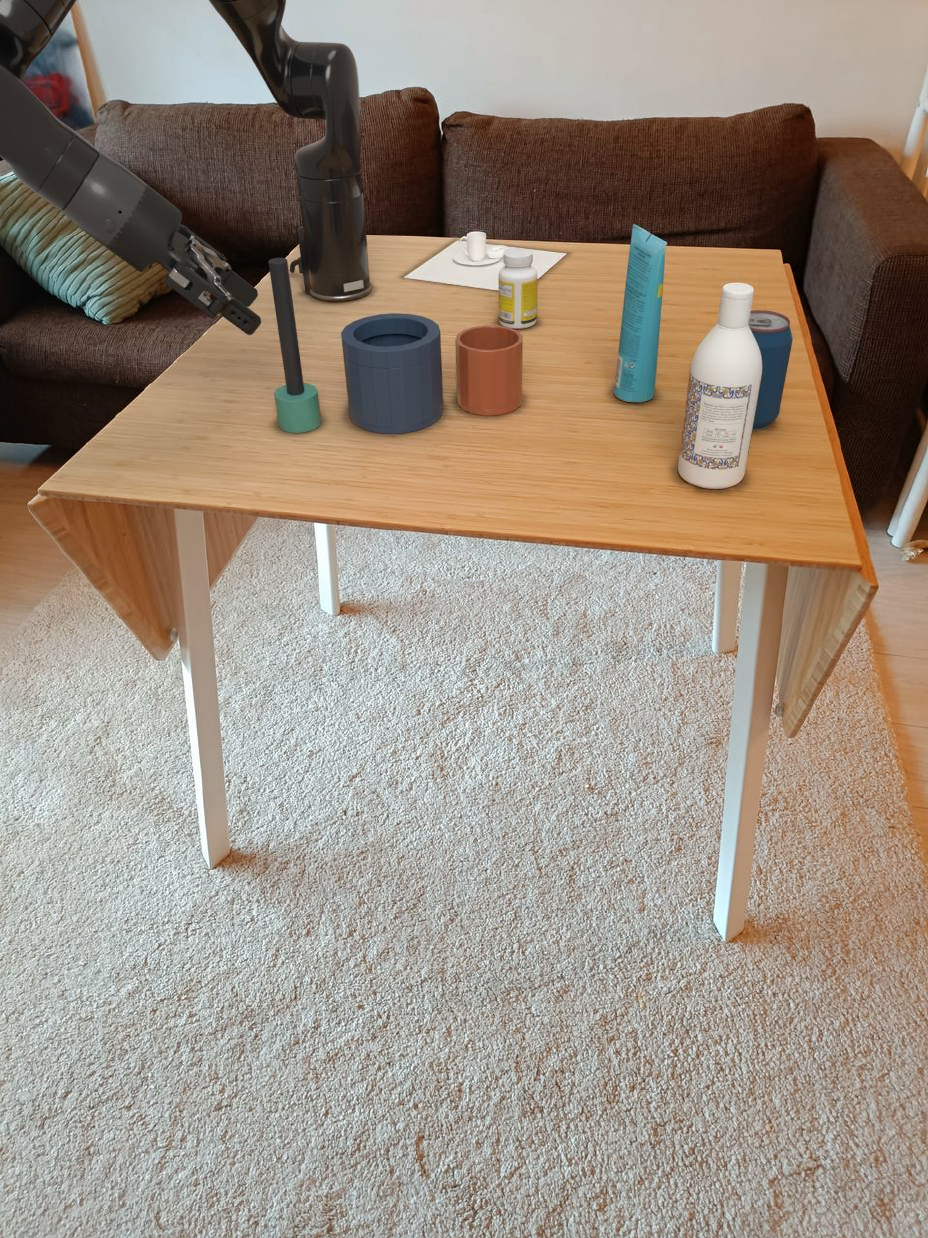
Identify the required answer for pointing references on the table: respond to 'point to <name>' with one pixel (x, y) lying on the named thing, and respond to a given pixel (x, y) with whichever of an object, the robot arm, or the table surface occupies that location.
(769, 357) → the soda can
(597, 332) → the table surface
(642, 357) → the tube
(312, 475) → the table surface
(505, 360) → the crock
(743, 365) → the bath foam
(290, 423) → the sponge wand
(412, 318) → the jar
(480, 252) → the teacup and saucer
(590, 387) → the table surface
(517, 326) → the supplement bottle
